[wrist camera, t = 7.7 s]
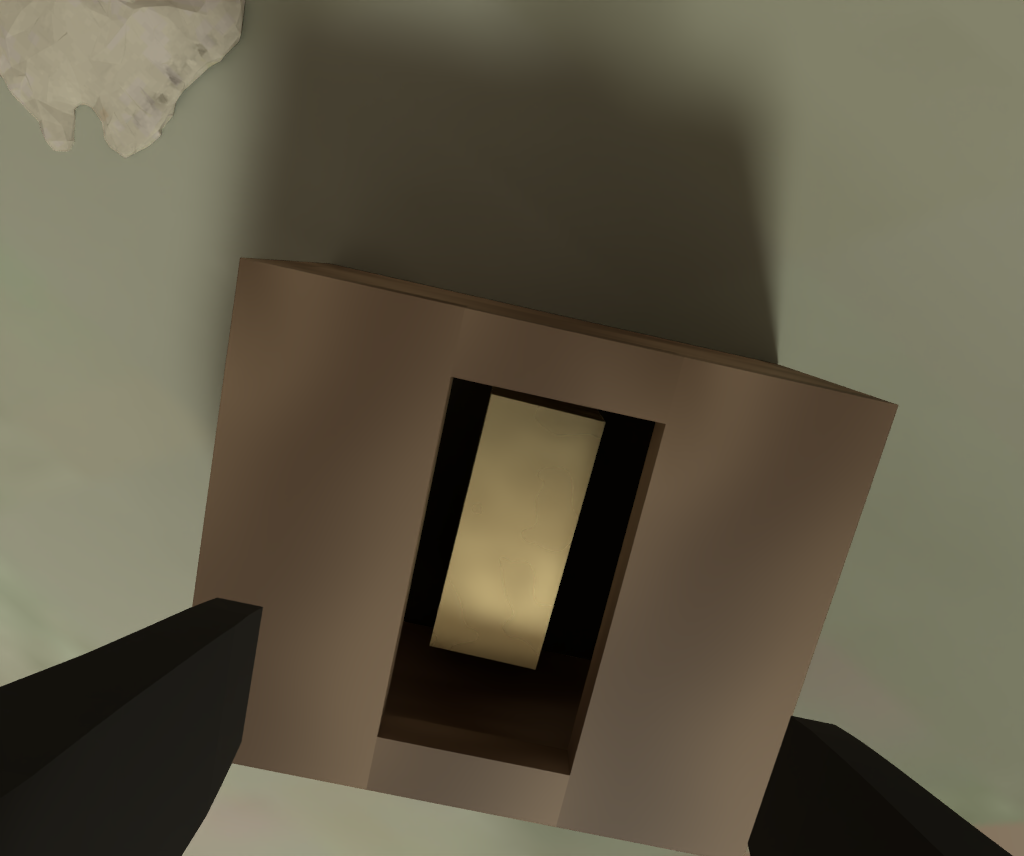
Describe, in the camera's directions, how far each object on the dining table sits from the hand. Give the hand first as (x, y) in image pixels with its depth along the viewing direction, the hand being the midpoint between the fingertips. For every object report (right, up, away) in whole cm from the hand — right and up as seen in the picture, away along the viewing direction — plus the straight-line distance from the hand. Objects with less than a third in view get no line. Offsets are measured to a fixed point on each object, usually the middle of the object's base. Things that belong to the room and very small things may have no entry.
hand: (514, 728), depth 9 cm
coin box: (0, +2, +10) cm, 10 cm away
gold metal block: (0, +2, +10) cm, 11 cm away
